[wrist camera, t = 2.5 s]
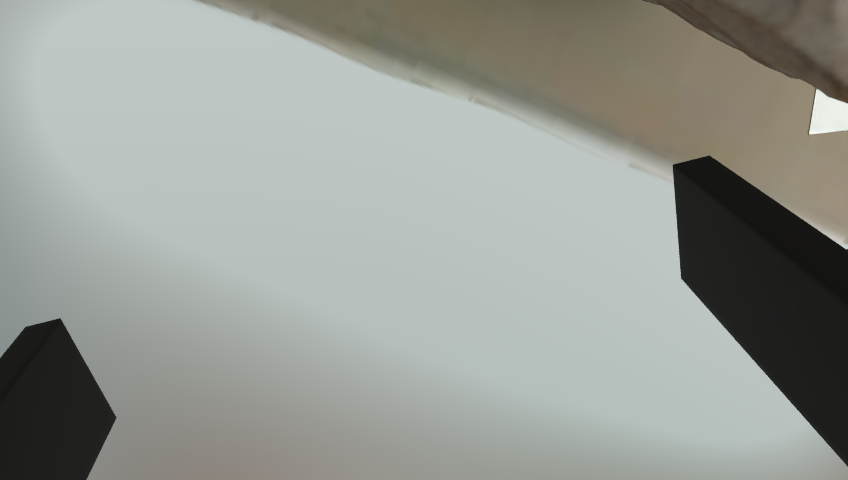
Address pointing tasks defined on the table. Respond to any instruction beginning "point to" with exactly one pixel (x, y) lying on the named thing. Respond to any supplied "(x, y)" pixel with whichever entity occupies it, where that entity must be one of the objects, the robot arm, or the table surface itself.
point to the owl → (780, 35)
